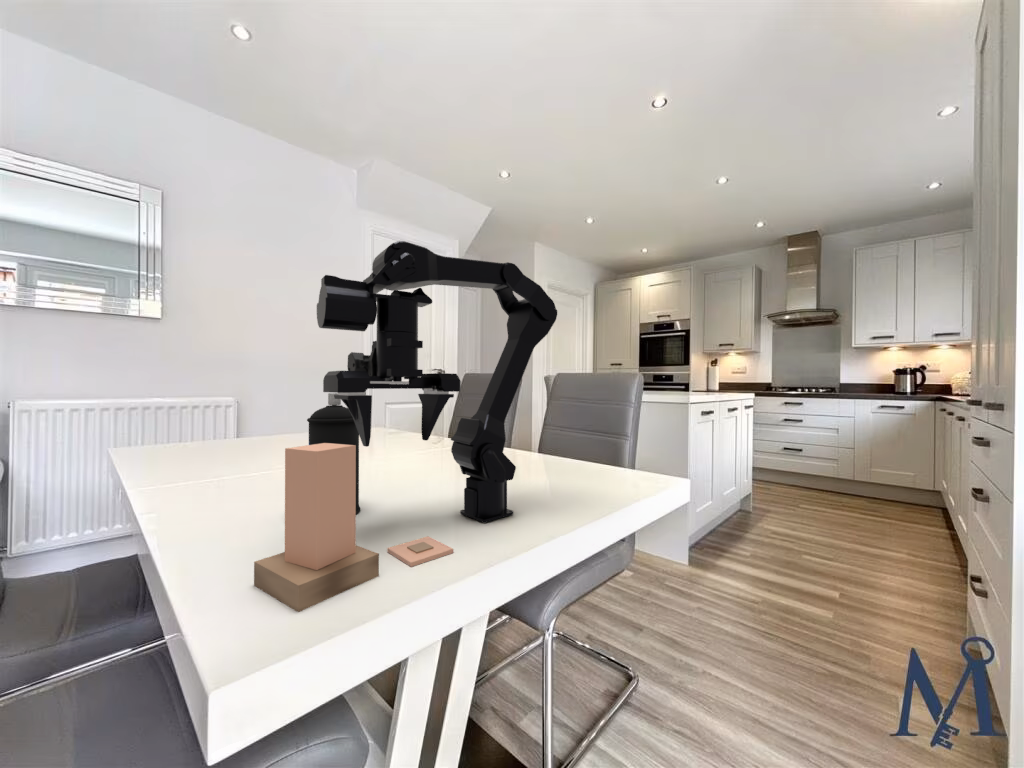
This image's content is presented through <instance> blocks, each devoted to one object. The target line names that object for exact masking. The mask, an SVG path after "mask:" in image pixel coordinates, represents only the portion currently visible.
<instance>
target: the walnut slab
mask: <svg viewBox="0 0 1024 768" xmlns="http://www.w3.org/2000/svg"><path fill="white" fill-rule="evenodd" d="M379 562H380V553H378V552H375V551H373V550H370V549H367V548H364V547H362V546H360V545H357V544H356V553H354V554H351V555H349V556H347V557H345V558H343V559H340V560H338V561H336V562H334V563H332V564H329V565H327V566H325V567H323V568H321V569H318V570H314V569H311V568H307V567H303V566H300V565H296V564H293V563H289V562H286V561H285V551H283V552H281V553H277V554H274V555H271V556H268V557H264V558H261V559H258V560H256V561H254V562H253V563H254V564H253V565H254V566H253V587H256V588H257V589H259V590H260V591H263V592H264V593H265V594H267V595H269V596H271V597H272V598H274V599H276V600H277V601H279V602H280V603H282V604H283V605H286V606H287V607H289V608H291V609H292V610H294V611H295V612H297V613H300V612H302V611H304V610H306V609H308V608H311V607H313V606H315V605H318V604H319V603H322V602H324V601H327V600H328V599H330V598H334V597H335V596H338V595H340V594H342V593H345V592H346V591H348V590H351V589H353V588H355V587H358V586H361V585H362V584H364V583H366V582H368V581H371V580H373V579H376V578H377V577H380V573H379V571H380V570H379V566H380V563H379Z"/></svg>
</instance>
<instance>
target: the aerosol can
mask: <svg viewBox="0 0 1024 768" xmlns="http://www.w3.org/2000/svg"><path fill="white" fill-rule="evenodd" d="M334 395H338V393H336V392H327V405H326V406H324V407H321V408H319V409H317V410H315V411H314V412H313V413H311V415H310V417H308V418H307V419H306V422H308V445H314V444H321V443H332V444H345V445H356V515H358V514H359V513H360V512H361V506H360V505H359V504H360V473H359V472H360V436H359V433H358V430H357V428H356V425H355V422H354V420H353V417H352V415H351V413H350V411H349V409H348V407H347V406H346V407H345V406H343V405H342V400H341V399H335V398H334Z"/></svg>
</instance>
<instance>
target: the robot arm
mask: <svg viewBox="0 0 1024 768" xmlns="http://www.w3.org/2000/svg"><path fill="white" fill-rule="evenodd" d="M371 268H372V269H371V270H372V272H371V273H370V275H368V277H366V278H364V279H363V280H362V281H359V280H354V279H346V278H341V277H338V276H336V275H330V274H325V275H324V276H323V277H322V278H321V279H320V282H321V285H320V289H319V294H318V302H317V303H316V320H317V325H318V328H319V329H326V330H339V331H340V330H341V331H354V332H366V330H367V329H368V328H369V325H371V326H373V325H374V324H375V322H376V340H375V341H374V340H373V341H372V345H371V352H370V355H369V354H368V355H367V354H364V352H355V351H354V352H353V351H351V352H350V353H349V354H348V355H347V365H346V366H347V370H333V371H332V370H331V371H327V373H326V374H325V375H324V378H323V381H322V382H323V383H322V386H323V388H322V391H323V393H338V395H334V398H335V399H341V402H343V404H344V405H345V406H346V408H348V409H349V411H350V413H351V415H352V417H353V420H354V422H355V425H356V428H357V430H358V433H359V440H360V441H361V443H362V446H363V447H365V448H366V447H369V446H370V442H371V437H372V435H371V434H372V410H373V409H372V404H373V395H370V394H369V395H368V394H367V390H368V389H369V390H372V389H374V390H375V389H376V390H377V389H379V390H384V389H385V390H386V389H390V390H392V389H394V390H395V389H405V390H406V389H411V390H412V389H415V390H416V389H421V390H422V391H423V393H417V395H418V398H419V399H420V403H421V439H422V441H428V440H429V439H430V437H431V435H432V433H433V430H434V428H435V426H436V424H437V422H438V420H439V417H440V415H441V414H442V412H443V410H444V408H445V407H446V405H447V403H448V401H449V400H450V399H451V398H452V399H453V398H454V396H455V395H454V393H455V392H461V391H462V389H461V388H462V386H461V383H462V381H461V379H460V378H459V376H458V374H457V373H448V372H447V373H443V372H442V373H441V372H435V373H431V372H430V373H423V369H419V362H418V361H419V359H418V358H419V356H418V355H419V353H418V352H419V349H423V345H424V343H423V342H424V341H423V340H419V308H423V307H426V306H429V305H431V304H433V299H432V298H431V297H429V296H428V294H427V293H425V292H424V290H423V288H421V287H426V286H434V285H435V286H436V285H437V286H447V287H449V286H450V287H465V288H477V289H479V288H480V289H491V290H493V292H494V293H495V294H496V296H497V299H498V302H499V304H500V307H501V309H502V310H503V311H504V313H506V314H507V316H508V318H507V321H506V328H507V340H506V343H505V346H504V347H503V350H502V351H501V354H500V357H499V359H498V362H497V364H496V367H495V368H494V371H493V373H492V376H491V378H490V380H489V384H488V386H487V388H486V390H485V392H484V395H483V398H482V400H481V402H480V405H479V407H478V409H477V411H476V412H475V414H474V415H472V417H471V418H468V417H461V418H460V420H459V421H458V424H457V428H456V431H455V433H454V435H452V437H450V441H452V445H451V450H450V451H451V455H452V457H453V460H454V461H455V462H456V463H457V464H458V465H459V468H460V470H461V471H460V472H461V474H462V475H467V476H468V477H465V487H464V490H463V504H464V505H463V506H464V507H463V509H461V510H460V513H459V514H461V515H463V516H465V517H468V518H471V519H473V520H475V521H478V522H481V523H488V522H492V521H495V520H498V519H499V520H500V519H501V518H504V517H505V518H506V517H508V516H512V515H514V510H512V509H509V508H508V481H512V480H513V479H514V477H515V473H516V469H517V466H516V465H515V464H514V463H513V462H512V461H511V460H510V459H509V458H508V457H507V455H506V454H505V453H504V450H505V444H506V442H507V439H506V429H505V422H506V419H507V417H508V413H509V412H510V409H511V406H512V403H513V402H514V399H515V398H516V397H515V396H516V394H517V391H518V389H519V387H520V384H521V381H522V379H523V377H524V374H525V371H526V369H527V366H528V364H529V361H530V360H531V356H532V354H533V351H534V349H535V347H536V346H537V345H538V344H539V343H540V342H541V341H542V340H543V339H544V338H545V337H547V336H548V334H549V332H550V331H551V329H552V328H553V326H554V324H555V323H556V320H557V317H558V310H557V307H556V305H555V302H554V301H553V299H552V298H551V297H550V296H549V295H548V294H547V293H546V291H545V290H544V289H543V288H542V286H541V285H540V284H538V283H537V282H535V281H533V280H532V279H531V278H529V277H528V276H527V275H525V274H524V273H523V272H522V270H520V268H519V266H517V265H516V263H513V262H493V261H487V260H478V259H471V258H470V259H468V258H462V257H461V258H459V257H452V256H451V257H450V256H444V255H440V254H437V253H436V252H433V251H431V250H430V249H428V248H427V247H425V246H421V245H417V244H415V243H412V242H409V241H405V240H399V241H394V242H392V243H391V244H389V245H388V246H387V247H386V248H385V249H384V250H382V251H380V253H379V254H377V255H376V256H375V258H374V260H373V262H372V267H371ZM416 288H417V289H416ZM410 289H414V290H413V291H412V292H411V291H405V290H410ZM384 290H387V291H391V293H390V294H383V293H382V294H381V293H379V292H381V291H384ZM514 293H515V294H517V295H519V296H520V297H521V298H523V299H520V300H519V299H518V298H517V297H516V295H515V294H514ZM402 379H404V380H408V381H402ZM449 392H450V393H449ZM451 392H453V393H451Z"/></svg>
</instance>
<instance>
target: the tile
mask: <svg viewBox="0 0 1024 768" xmlns="http://www.w3.org/2000/svg"><path fill="white" fill-rule="evenodd" d="M386 549H387V550H386V551H387V553H388V554H390V555H391V556H393V557H395V558H396V559H398V560H399V561H400V562H403V563H404V564H406V565H407V566H408V567H411V568H412V567H415V566H418V565H421V564H424V563H427V562H430V561H434V560H436V559H438V558H442V557H444V556H445V557H446V556H448V555H451V554H453V553H454V548H452V547H451V546H449V545H447V544H444V543H442V542H441V541H438V540H437V539H436V538H432V537H431V536H428V535H427V536H424V537H421V538H418V539H413V540H410V541H407V542H404V543H400V544H396V545H393V546H388V547H386Z"/></svg>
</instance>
